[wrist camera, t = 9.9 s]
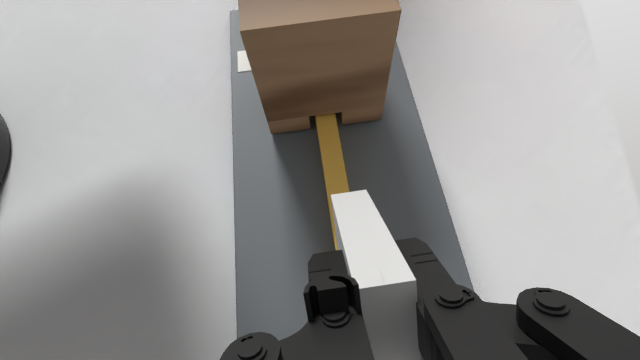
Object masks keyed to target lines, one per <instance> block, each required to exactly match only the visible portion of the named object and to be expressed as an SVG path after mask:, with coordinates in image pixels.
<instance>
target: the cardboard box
mask: <svg viewBox="0 0 640 360" xmlns="http://www.w3.org/2000/svg"><path fill="white" fill-rule="evenodd" d="M238 6H239V31H240V34H241V38H242V41H243V44H244V47H245V51H246V54H247V57H248V60H249V64H250V67H251V70H252V74H253V77H254V80H255V83H256V87H257V90H258V93H259V96H260V100H261V103H262V106H263V109H264V113H265V116H266V119H267V123H268V126H269V129H270V132H271V134H276V133H283V132H290V131H298V130H305V129H311V128H310V120H309V116H315V115H323V114H330V113H338V112H340V116H341V122H342V125H343V124H350V123H357V122H365V121H372V120H380V119H382V113H383V108H384V102H385V96H386V91H387V85H388V80H389V74H390V69H391V63H392V58H393V52H394V47H395V41H396V36H397V30H398V25H399V19H400V14H401V8H400V5H399V2H398V0H238Z"/></svg>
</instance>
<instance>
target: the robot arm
mask: <svg viewBox="0 0 640 360" xmlns="http://www.w3.org/2000/svg"><path fill="white" fill-rule="evenodd" d="M9 152H10V138H9V132H8V128H7V125H6V123H5V121H4V119H3V117H2V116H1V114H0V184H1V181H2V179H3V176H4V174H5V171H6V167H7V164H8V159H9ZM331 202H332V210H333V217H334V224H335V232H336V239H337V247H338V250H336V251H329V252H322V253H316V254H313V255H312V257H311V258H310V260H309V261H308V280H309V283H308V284H307V285H306V286H305V288H304V292H303V295H304V301H305V306H306V312H307V318H308V321H307V323H306V324H305V325H304V326H303V328H302V329H300V330H299V331H298V332H296V333H295V334H293V335H291V336H289V337H287V338H284V339H282V340H279V341H278V339H277V338H276V337H274V336H273V335H272V334H270V333H265V332H255V333H249V334H247V335H244V336H242V337H239V338H238V339H237V340H235V341H234V342H232V343H231V344H230V345H229V346H228V348H227V349H226V350H225V351H224V353H223V355H222V357H221V358H220V360H421V355H422V357H423V360H640V337H639V336H638V335H636V334H634V333H633V332H631V331H629V330H628V329H626V328H624V327H623V326H621V325H619V324H618V323H616V322H614V321H613V320H611V319H609V318H608V317H606V316H604V315H603V314H601V313H599V312H598V311H596V310H594V309H593V308H591V307H589V306H588V305H586V304H584V303H583V302H581V301H579V300H578V299H576V298H574V297H572V296H570V295H568V294H566V293H564V292H561V291H558V290H554V289H550V288H531V289H526V290H524V291H523V292H521V293H519V295H518V298H517V305H512V304H498V303H489V302H484V301H482V300H481V299H480V298H479V296H478V295H477V294H476V293H475V292H473V291H472V290H471V289H469V288H467V287H464V286H462V285H458V284H456V283H455V282H454V280H453V279H452V277H451V276H450V275H449V273H448V272H447V271H446V269H445V268H444V266H443V265H442V264H441V262H440V261H438V258H437V257H436V255H435V254H433V251H432V250H431V249H430V247H429V246H428V244H427V243H425V242H423V241H421V240H420V239H418V238H416V237H414V238H408V239H401V240H395V241H394V239H393V237H392V235H391V234H390V232H389V230H388V228H387V226H386V225H385V223H384V221H383V219H382V217H381V216H380V214H379V212H378V210H377V208H376V207H375V205H374V203H373V201H372V199H371V198H370V196H369V194H368V192H367V190H360V191H353V192H346V193H339V194H333V195H331Z"/></svg>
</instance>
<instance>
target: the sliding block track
mask: <svg viewBox="0 0 640 360" xmlns="http://www.w3.org/2000/svg"><path fill="white" fill-rule="evenodd" d="M230 44H231V89H232V134H233V179H234V224H235V269H236V314H237V339H238V338H239V337H242V336H244V335H247V334H249V333H255V332H265V333H270V334H272V335H273V336H274V337H276V338H277V339H278V341H279V340H282V339H284V338H287V337H289V336H291V335H293V334H295V333H296V332H298V331H299V330H300V329H302V328H303V326H304V325H305V324H306V323H307V321H308V318H307V312H306V306H305V301H304V295H303V292H304V288H305V286H306V285H307V284H308V283H309V280H308V261H309V260H310V258H311V257H312V255H313V254H316V253H322V252H329V251H336V250H338V247H337V239H336V232H335V224H334V217H333V210H332V202H331V195H333V194H339V193H346V192H353V191H360V190H367V192H368V194H369V196H370V198H371V199H372V201H373V203H374V205H375V207H376V208H377V210H378V212H379V214H380V216H381V217H382V219H383V221H384V223H385V225H386V226H387V228H388V230H389V232H390V234H391V235H392V237H393V239H394V241H395V240H401V239H408V238H414V237H416V238H418V239H420V240H421V241H423V242H425V243H427V244H428V246H429V247H430V249H431V250H432V251H433V254H435V255H436V257H437V258H438V261H440V262H441V264H442V265H443V266H444V268H445V269H446V271H447V272H448V273H449V275H450V276H451V277H452V279H453V280H454V282H455V283H456V284H458V285H462V286H464V287H467V288H469V289H471V290H472V291H473V292H474V289H473V286H472V283H471V280H470V277H469V273H468V270H467V267H466V264H465V261H464V257H463V254H462V251H461V248H460V245H459V241H458V238H457V235H456V232H455V229H454V225H453V222H452V219H451V216H450V213H449V209H448V206H447V203H446V200H445V197H444V193H443V190H442V187H441V184H440V181H439V178H438V174H437V171H436V168H435V165H434V162H433V158H432V155H431V152H430V149H429V146H428V142H427V139H426V136H425V133H424V130H423V126H422V123H421V120H420V117H419V114H418V110H417V107H416V104H415V101H414V98H413V94H412V91H411V88H410V85H409V82H408V78H407V75H406V72H405V69H404V66H403V62H402V59H401V56H400V53H399V50H398V46H397V43H396V41H395V47H394V52H393V58H392V63H391V69H390V74H389V80H388V85H387V91H386V96H385V102H384V108H383V113H382V119H380V120H372V121H365V122H357V123H350V124H343V125H342V122H341V116H340V112H338V113H330V114H323V115H315V116H309V120H310V128H311V129H305V130H298V131H290V132H283V133H276V134H271V132H270V129H269V126H268V123H267V119H266V116H265V113H264V109H263V106H262V103H261V100H260V96H259V93H258V90H257V87H256V83H255V80H254V77H253V74H252V70H251V67H250V64H249V60H248V57H247V54H246V51H245V47H244V44H243V41H242V38H241V34H240V31H239V10H235V11H230ZM421 360H423V357H422V355H421Z"/></svg>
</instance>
